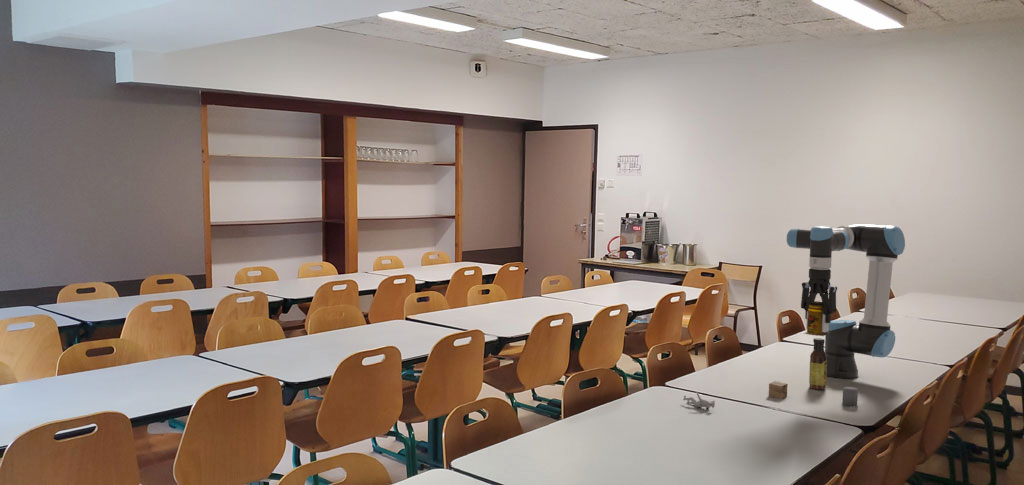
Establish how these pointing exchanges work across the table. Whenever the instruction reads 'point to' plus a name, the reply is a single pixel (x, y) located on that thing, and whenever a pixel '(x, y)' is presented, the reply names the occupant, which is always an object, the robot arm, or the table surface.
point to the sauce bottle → (818, 365)
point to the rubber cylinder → (850, 396)
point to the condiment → (815, 319)
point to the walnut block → (778, 389)
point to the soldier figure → (700, 402)
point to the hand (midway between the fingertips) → (817, 329)
